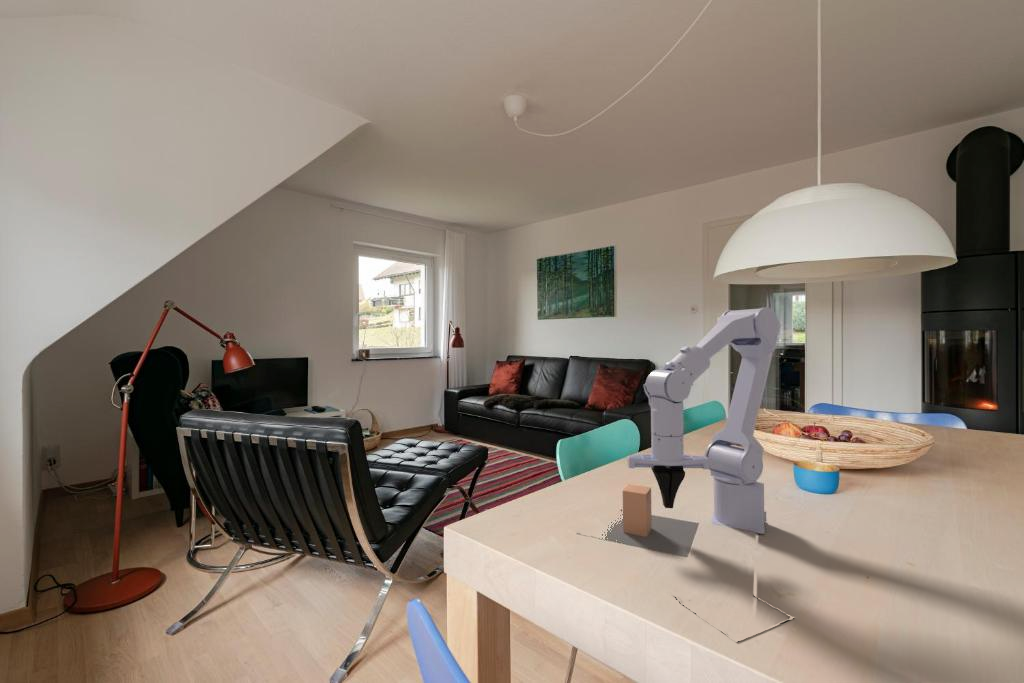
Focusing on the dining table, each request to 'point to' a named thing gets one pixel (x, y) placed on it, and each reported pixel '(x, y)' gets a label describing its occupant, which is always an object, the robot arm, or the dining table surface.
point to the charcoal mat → (658, 536)
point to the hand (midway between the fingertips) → (668, 506)
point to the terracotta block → (637, 510)
